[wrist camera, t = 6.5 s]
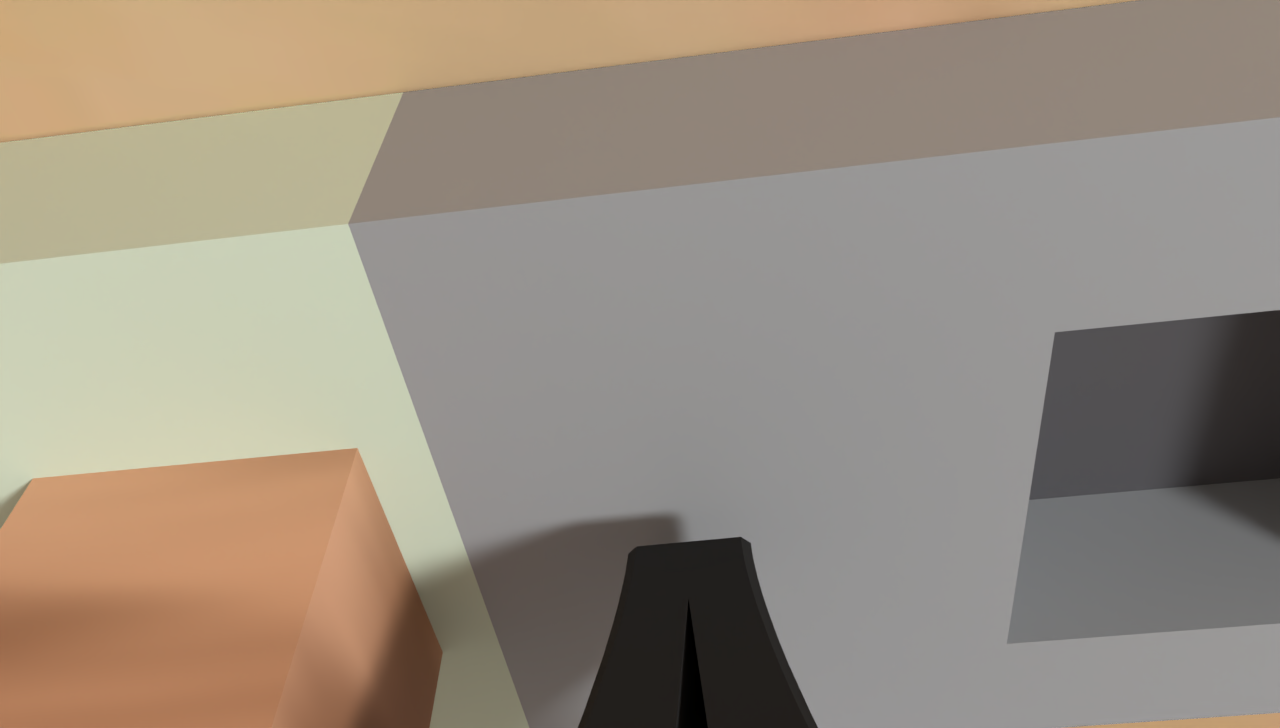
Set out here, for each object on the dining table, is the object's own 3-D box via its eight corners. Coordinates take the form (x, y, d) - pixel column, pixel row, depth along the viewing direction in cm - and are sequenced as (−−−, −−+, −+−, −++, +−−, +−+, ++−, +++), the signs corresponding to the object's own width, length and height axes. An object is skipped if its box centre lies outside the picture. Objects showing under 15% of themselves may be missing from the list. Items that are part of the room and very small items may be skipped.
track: (1336, 545, 18) (1442, 701, 15) (-90, 660, 20) (-188, 812, 17) (1605, -59, 11) (1856, 51, 9) (-530, 209, 13) (-774, 352, 11)
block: (442, 652, 14) (388, 959, 11) (170, 673, 15) (46, 977, 12) (357, 448, 12) (258, 771, 9) (32, 478, 12) (-173, 799, 9)
